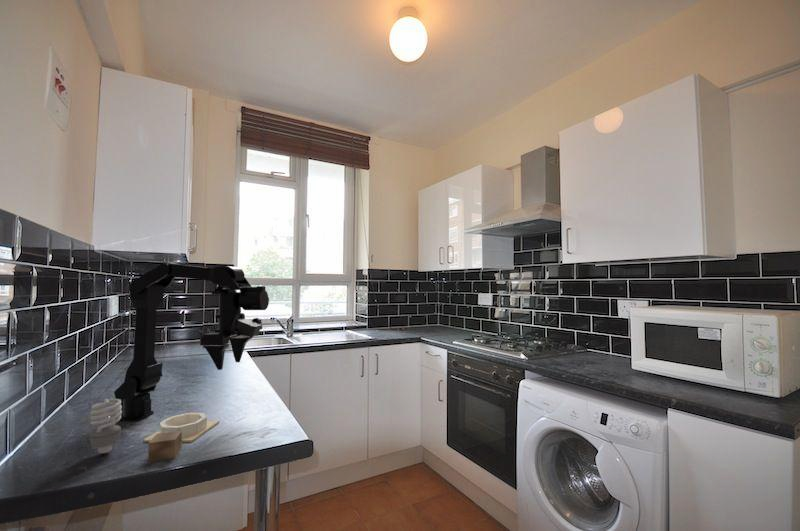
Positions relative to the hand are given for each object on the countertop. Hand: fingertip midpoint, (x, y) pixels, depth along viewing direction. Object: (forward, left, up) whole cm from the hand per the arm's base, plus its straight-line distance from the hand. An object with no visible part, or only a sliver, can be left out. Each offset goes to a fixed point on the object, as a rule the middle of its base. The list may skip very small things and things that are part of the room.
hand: (229, 365), depth 102 cm
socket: (-7, -9, -15) cm, 19 cm away
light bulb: (-17, -21, -15) cm, 31 cm away
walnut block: (-3, -21, -15) cm, 26 cm away
